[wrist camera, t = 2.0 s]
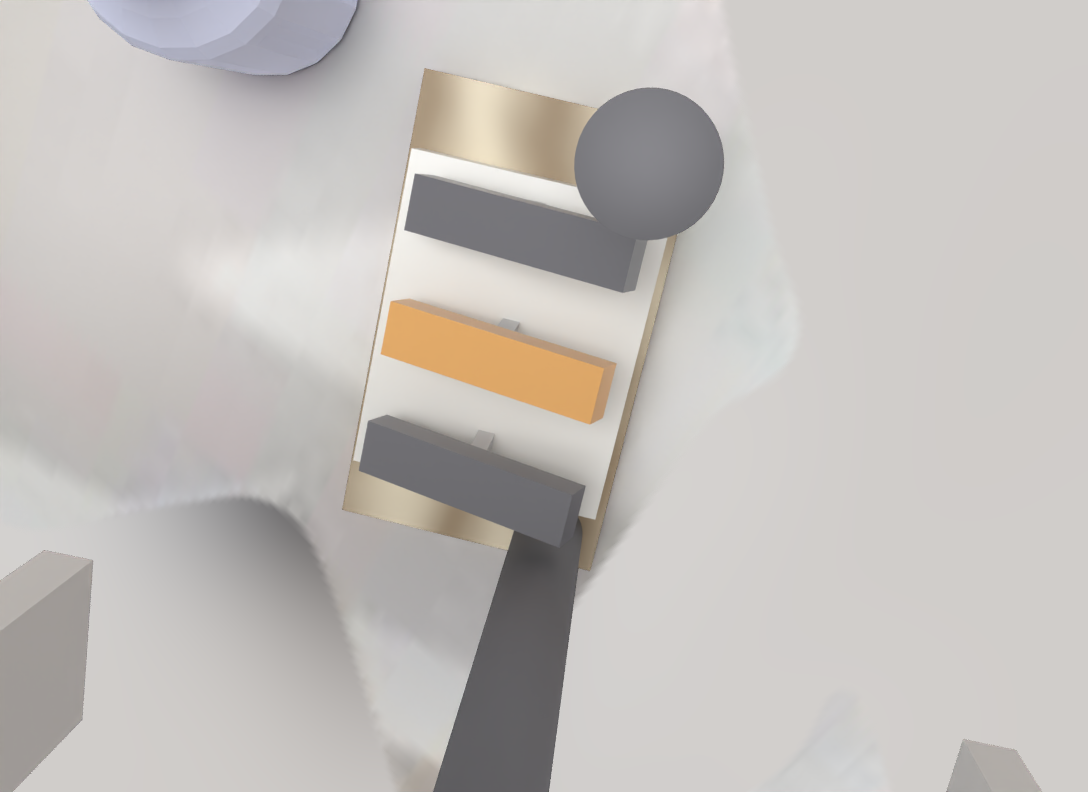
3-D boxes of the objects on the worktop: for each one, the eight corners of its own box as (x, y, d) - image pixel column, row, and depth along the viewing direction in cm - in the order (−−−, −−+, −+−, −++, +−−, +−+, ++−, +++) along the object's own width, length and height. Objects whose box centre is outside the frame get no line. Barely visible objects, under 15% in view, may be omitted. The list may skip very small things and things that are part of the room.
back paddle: (377, 463, 47) (358, 470, 46) (386, 414, 47) (367, 420, 45) (573, 537, 44) (559, 548, 42) (585, 485, 43) (572, 495, 42)
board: (352, 496, 54) (342, 509, 52) (433, 71, 48) (424, 68, 46) (591, 555, 53) (590, 570, 52) (700, 133, 48) (703, 133, 46)
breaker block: (363, 448, 51) (336, 479, 46) (420, 148, 47) (396, 148, 42) (596, 505, 51) (592, 542, 46) (672, 207, 47) (677, 214, 42)
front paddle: (422, 229, 44) (404, 230, 43) (433, 174, 44) (414, 173, 42) (635, 290, 41) (622, 292, 40) (649, 232, 41) (637, 232, 39)
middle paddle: (399, 349, 46) (380, 354, 44) (409, 298, 45) (390, 301, 44) (603, 417, 43) (590, 424, 41) (616, 363, 42) (604, 368, 40)
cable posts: (508, 554, 52) (406, 889, 29) (613, 107, 46) (593, 72, 23) (573, 570, 52) (525, 919, 28) (687, 124, 46) (741, 106, 23)
